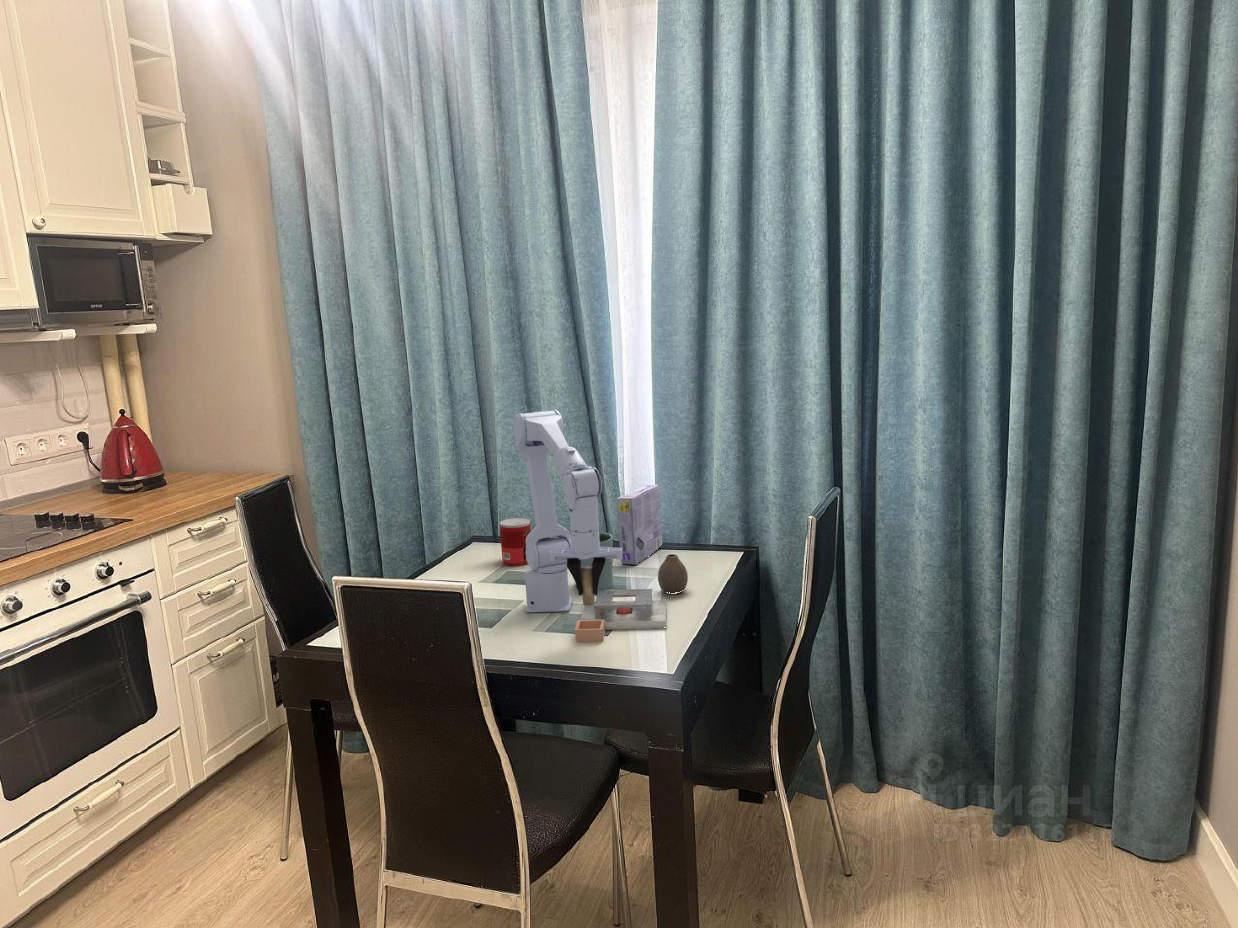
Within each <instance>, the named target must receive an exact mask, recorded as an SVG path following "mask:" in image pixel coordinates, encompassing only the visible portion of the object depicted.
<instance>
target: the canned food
mask: <svg viewBox="0 0 1238 928" xmlns="http://www.w3.org/2000/svg"><path fill="white" fill-rule="evenodd" d="M531 527H532V526H531V521H530V519H528V518H522V517H521V518H519V517H516V518H515V517H514V518H506V519H504V520H501V521H500V522H499V534H500V546H501V547H500V548H501V559H502V563H503V564H504V565H505V566H510V567H520V566H525V565H528V562H527V559H526V537H527V535H528V534H529V533H530V532H531V531H532V529H531Z"/></svg>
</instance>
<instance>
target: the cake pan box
mask: <svg viewBox="0 0 1238 928" xmlns="http://www.w3.org/2000/svg"><path fill="white" fill-rule="evenodd" d="M661 506H662V505H661V486H660V485H659V484H646V485H642V486H641V487H639V488H637V489H635V490H631V491H630V492H627V493H625V494H623V495H621V496H619V497H617V498H616V507H617V508H616V509H617V510H616V511H617V521H618V523H617V525H618V536H619V537H618V539H619V548H622V556H623V557H622V560H620V564H623V565H630V566H637V565H638V564H640V563H641V562H642V561H644V560H646V559H648V558H649V557H648V556H650V555H651V554H652V553H653V554H654V552H655V551H656V550H657V549H658V548H659V547H660V546H661V545H662V544H664V543H663V524H662V523H663V522H662V507H661ZM656 552H657V551H656ZM656 552H655V553H656ZM651 556H652V555H651ZM651 556H650V557H651ZM647 557H648V558H647ZM645 558H646V559H645ZM639 562H640V563H639ZM636 564H637V565H636Z"/></svg>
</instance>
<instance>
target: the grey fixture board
mask: <svg viewBox="0 0 1238 928" xmlns="http://www.w3.org/2000/svg"><path fill="white" fill-rule="evenodd" d="M614 598H635V600H614V601H613V599H614ZM618 607H631V614H618ZM667 608H668V606H667V599H653V588H636V589H635V588H634V589H631V588H630V589H606V590H598V593H597V595H596V598H595V604H594V605H590V606H586V605H583V609H582V612H581V613H582V614H581V617H580V620H605V631H607V630H608V631H611V630H612V631H613V630H647V629H646V628H660V629H665V628H664V627H666V628H667V620H666V617H667V616H668V615H667V613H668V612H667V611H668V610H667Z"/></svg>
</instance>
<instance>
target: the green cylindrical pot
mask: <svg viewBox="0 0 1238 928" xmlns="http://www.w3.org/2000/svg"><path fill="white" fill-rule="evenodd" d="M599 538H600V547H612V548H614V547H613V546H614V545H613V543H614V542H613V539H614V537H613V534H611V533H608V532H600V531H599ZM593 560H594V559H588V560H581V568H582V567H587V566H589V567H592V563H593ZM613 563H614V562H613V559H606V561H605V565H604V568H603V570H602V573H601V575H600V579H599V583H598V590H610V589H611V588H612V587H613V583H614V581H613V580H614V578H613V577H614V575H613V574H614V573H613V569H614V568H613Z"/></svg>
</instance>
